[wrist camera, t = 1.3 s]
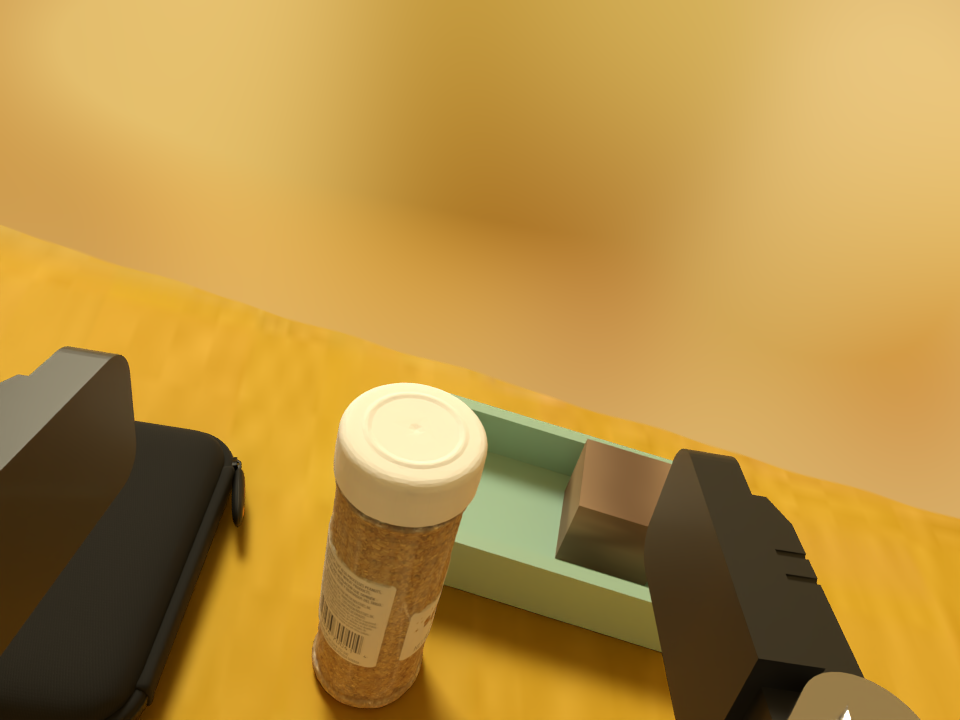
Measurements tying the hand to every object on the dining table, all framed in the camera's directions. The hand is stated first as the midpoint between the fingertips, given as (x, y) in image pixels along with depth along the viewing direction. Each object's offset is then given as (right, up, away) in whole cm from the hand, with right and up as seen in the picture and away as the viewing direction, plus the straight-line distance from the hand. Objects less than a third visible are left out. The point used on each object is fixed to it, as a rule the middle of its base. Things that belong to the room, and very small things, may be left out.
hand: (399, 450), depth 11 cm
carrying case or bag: (-15, -8, +20) cm, 26 cm away
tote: (+4, -7, +26) cm, 27 cm away
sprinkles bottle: (-4, -11, +19) cm, 22 cm away
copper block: (+7, -8, +26) cm, 28 cm away
